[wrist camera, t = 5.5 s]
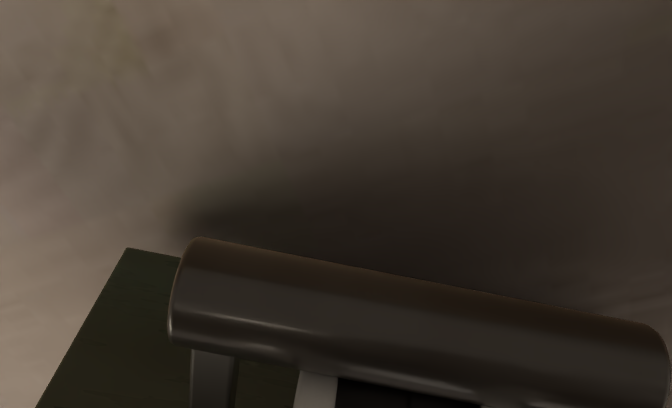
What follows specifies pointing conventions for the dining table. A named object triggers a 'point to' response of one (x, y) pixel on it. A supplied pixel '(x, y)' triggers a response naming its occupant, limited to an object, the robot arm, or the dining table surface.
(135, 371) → the drawer
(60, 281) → the dining table surface
